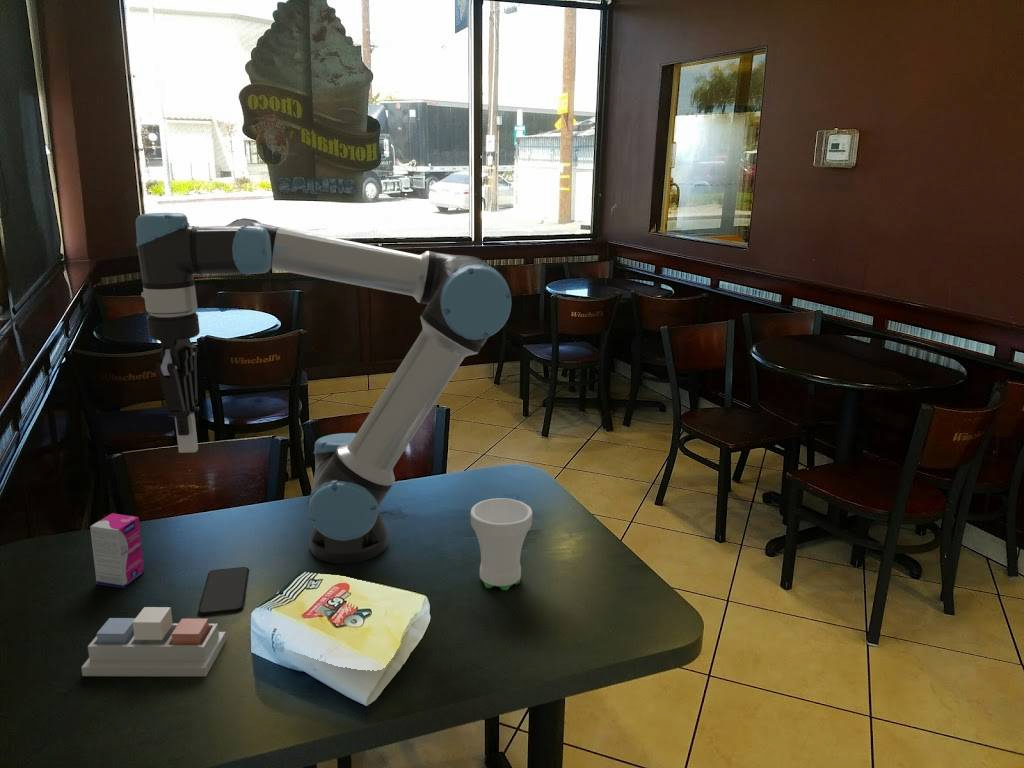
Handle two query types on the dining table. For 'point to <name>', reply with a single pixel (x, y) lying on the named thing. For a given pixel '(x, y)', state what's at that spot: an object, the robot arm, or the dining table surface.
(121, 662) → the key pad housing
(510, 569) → the cup
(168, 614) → the white key
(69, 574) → the dining table surface
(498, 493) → the dining table surface
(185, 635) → the red key
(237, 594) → the smartphone
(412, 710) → the dining table surface
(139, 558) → the supplement box
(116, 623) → the blue key
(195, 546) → the dining table surface
